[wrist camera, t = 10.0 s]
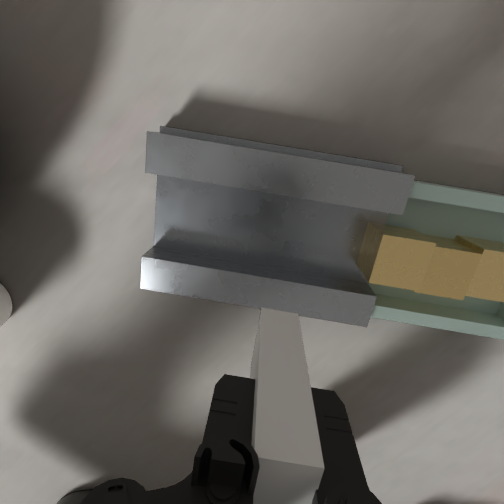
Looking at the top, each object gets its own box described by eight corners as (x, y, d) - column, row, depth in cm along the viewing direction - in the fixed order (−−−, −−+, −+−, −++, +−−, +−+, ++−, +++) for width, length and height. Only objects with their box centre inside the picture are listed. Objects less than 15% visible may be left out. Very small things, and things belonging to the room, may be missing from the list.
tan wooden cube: (400, 271, 29) (419, 291, 25) (356, 264, 29) (368, 282, 25) (414, 229, 28) (436, 243, 24) (368, 221, 28) (383, 234, 24)
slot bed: (354, 309, 32) (365, 332, 28) (156, 275, 32) (140, 293, 28) (397, 164, 27) (417, 168, 23) (164, 126, 27) (147, 124, 24)
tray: (499, 324, 31) (522, 342, 28) (357, 300, 31) (365, 316, 29) (557, 203, 27) (590, 211, 24) (394, 176, 27) (407, 180, 25)
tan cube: (439, 280, 30) (463, 300, 26) (396, 272, 30) (413, 292, 26) (454, 239, 28) (482, 254, 25) (409, 231, 28) (430, 245, 25)
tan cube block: (483, 283, 29) (514, 304, 26) (440, 276, 30) (464, 295, 26) (501, 242, 28) (536, 257, 24) (456, 234, 28) (484, 249, 24)
